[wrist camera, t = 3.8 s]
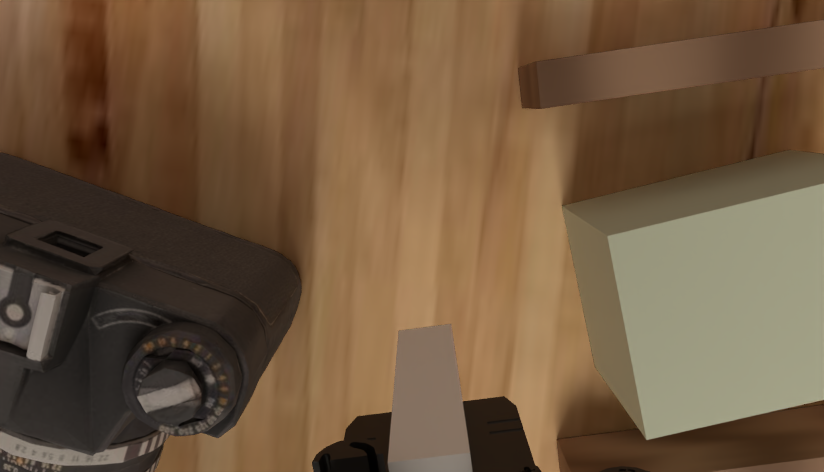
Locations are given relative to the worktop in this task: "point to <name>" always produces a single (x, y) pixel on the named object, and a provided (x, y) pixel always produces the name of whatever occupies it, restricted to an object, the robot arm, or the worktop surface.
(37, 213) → the camera
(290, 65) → the worktop surface
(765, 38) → the pair of brown rails
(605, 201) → the block
